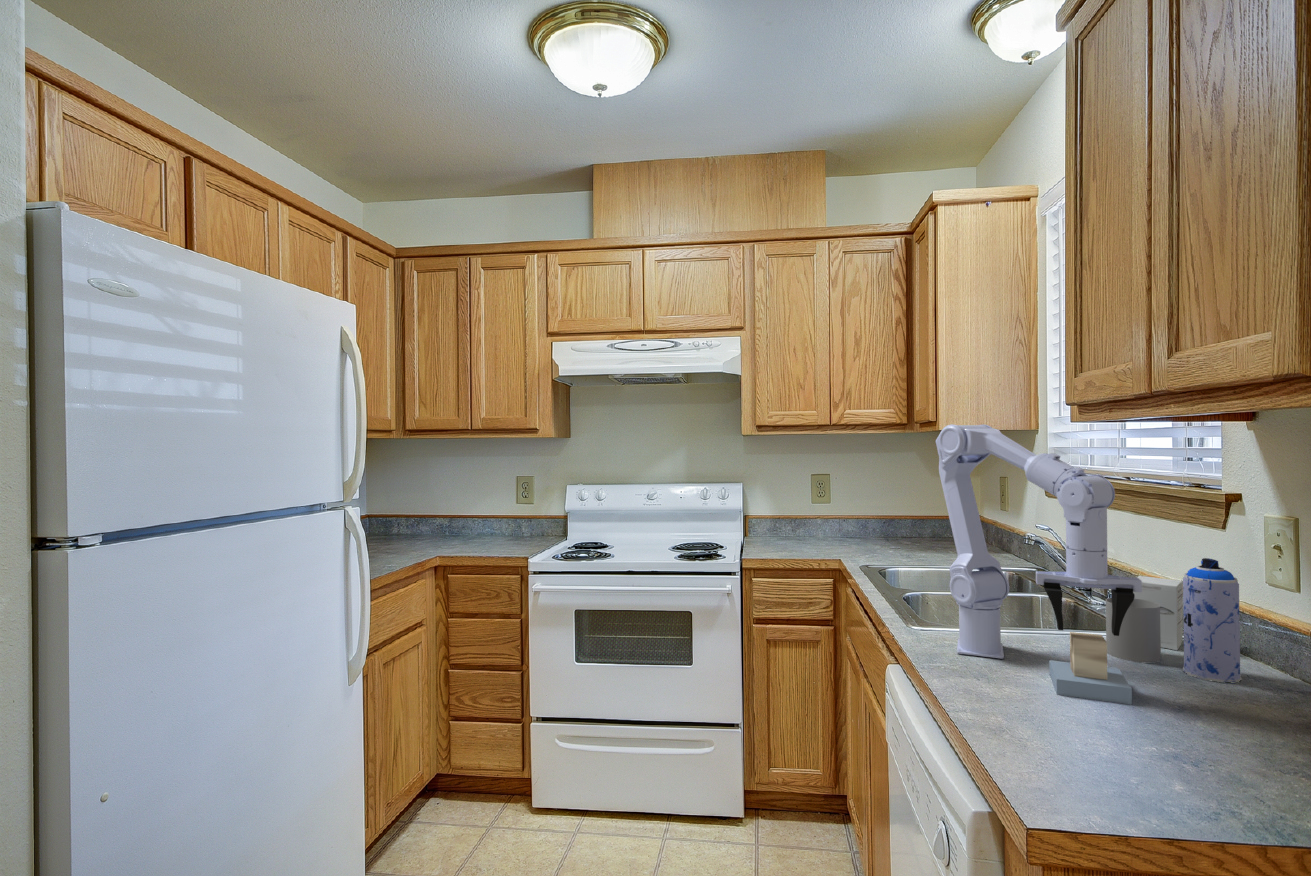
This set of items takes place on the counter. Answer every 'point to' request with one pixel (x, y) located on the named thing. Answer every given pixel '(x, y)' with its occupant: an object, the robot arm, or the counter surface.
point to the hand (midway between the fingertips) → (1087, 631)
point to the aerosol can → (1211, 623)
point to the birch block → (1088, 655)
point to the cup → (1135, 632)
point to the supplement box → (1166, 607)
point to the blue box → (1090, 684)
